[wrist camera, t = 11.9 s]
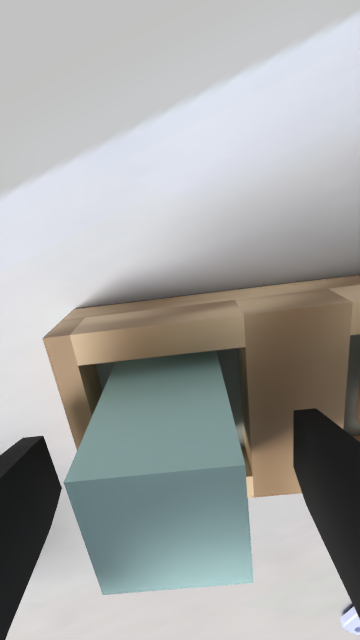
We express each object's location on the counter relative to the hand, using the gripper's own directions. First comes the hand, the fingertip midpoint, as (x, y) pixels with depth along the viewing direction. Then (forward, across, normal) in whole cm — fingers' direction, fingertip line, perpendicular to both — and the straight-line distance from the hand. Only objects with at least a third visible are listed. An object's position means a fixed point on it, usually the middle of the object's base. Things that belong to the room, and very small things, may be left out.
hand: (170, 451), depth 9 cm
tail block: (+2, 0, 0) cm, 3 cm away
